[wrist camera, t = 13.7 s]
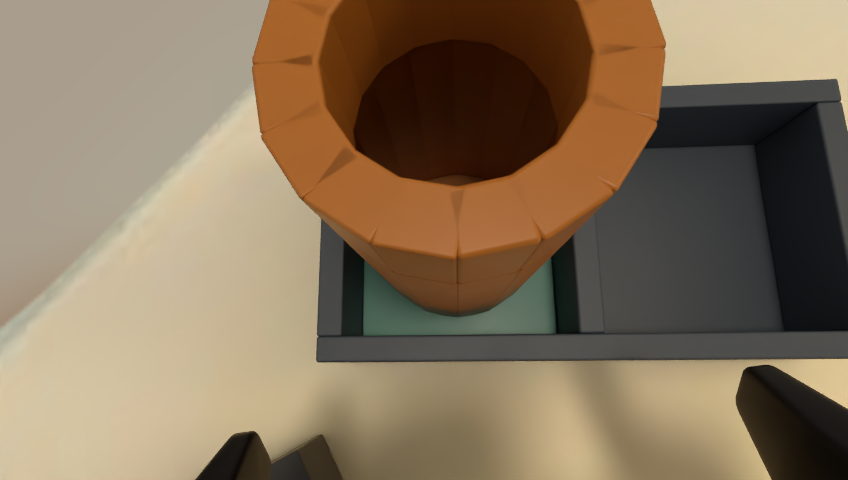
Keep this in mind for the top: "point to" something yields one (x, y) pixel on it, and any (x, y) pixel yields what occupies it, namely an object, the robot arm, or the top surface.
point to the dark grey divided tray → (657, 252)
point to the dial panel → (306, 463)
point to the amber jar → (457, 129)
